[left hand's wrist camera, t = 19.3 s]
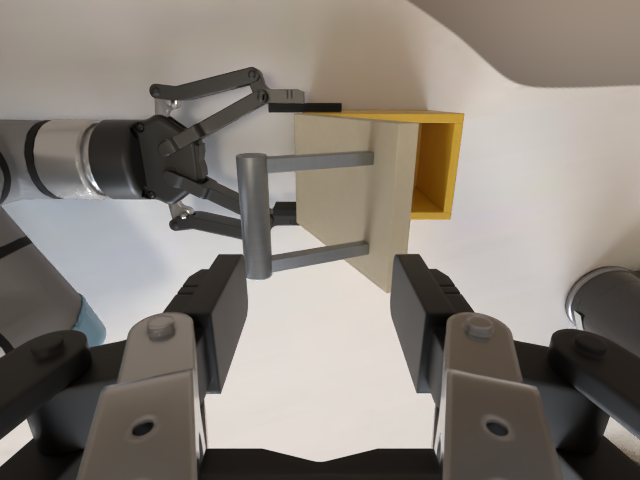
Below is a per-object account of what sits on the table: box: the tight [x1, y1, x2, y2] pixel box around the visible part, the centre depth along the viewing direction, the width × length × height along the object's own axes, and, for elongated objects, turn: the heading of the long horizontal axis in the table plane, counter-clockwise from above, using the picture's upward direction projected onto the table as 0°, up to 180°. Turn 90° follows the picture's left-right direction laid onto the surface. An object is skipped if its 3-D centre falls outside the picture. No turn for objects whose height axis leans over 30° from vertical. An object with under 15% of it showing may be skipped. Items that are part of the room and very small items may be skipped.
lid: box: [236, 114, 419, 293], centre depth 24 cm, size 14×9×8 cm
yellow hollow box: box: [302, 110, 464, 220], centre depth 37 cm, size 13×9×11 cm
